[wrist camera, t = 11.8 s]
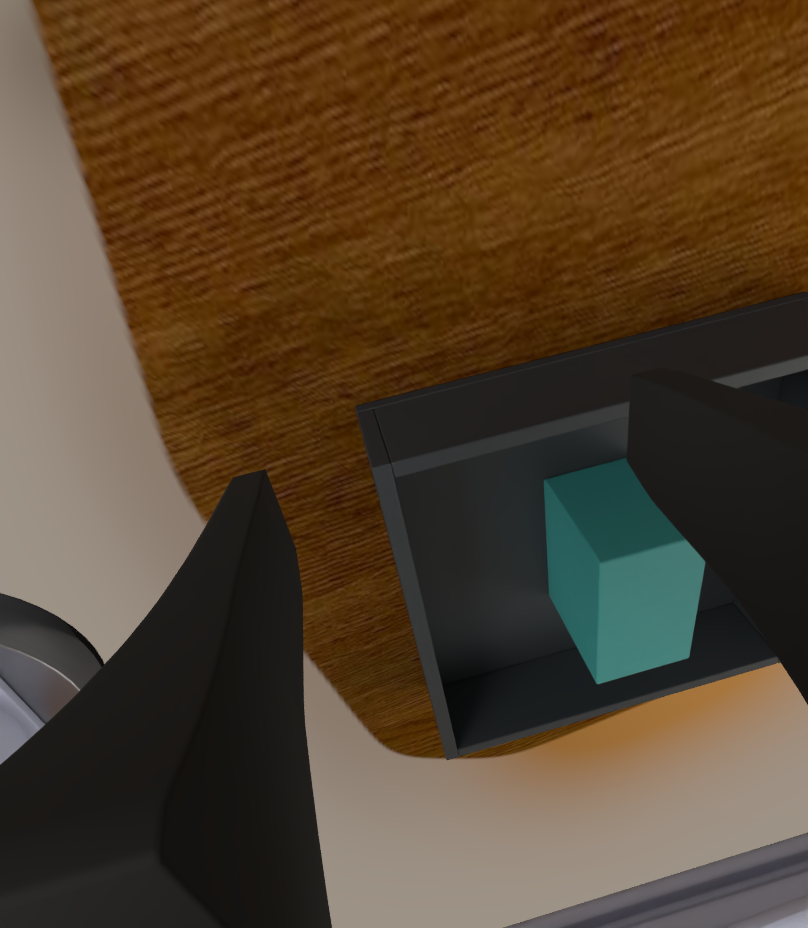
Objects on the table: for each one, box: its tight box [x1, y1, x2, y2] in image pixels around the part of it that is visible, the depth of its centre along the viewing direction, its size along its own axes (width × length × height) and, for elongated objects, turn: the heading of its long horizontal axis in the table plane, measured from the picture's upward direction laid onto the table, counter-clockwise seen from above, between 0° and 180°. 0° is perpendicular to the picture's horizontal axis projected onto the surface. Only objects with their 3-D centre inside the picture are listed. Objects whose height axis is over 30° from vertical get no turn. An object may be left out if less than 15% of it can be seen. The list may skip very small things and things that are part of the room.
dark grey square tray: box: [355, 292, 808, 760], centre depth 25 cm, size 17×17×4 cm
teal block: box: [544, 458, 705, 684], centre depth 24 cm, size 4×7×5 cm, turn 10°
